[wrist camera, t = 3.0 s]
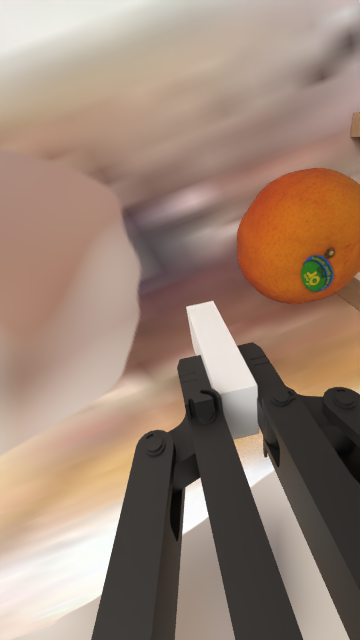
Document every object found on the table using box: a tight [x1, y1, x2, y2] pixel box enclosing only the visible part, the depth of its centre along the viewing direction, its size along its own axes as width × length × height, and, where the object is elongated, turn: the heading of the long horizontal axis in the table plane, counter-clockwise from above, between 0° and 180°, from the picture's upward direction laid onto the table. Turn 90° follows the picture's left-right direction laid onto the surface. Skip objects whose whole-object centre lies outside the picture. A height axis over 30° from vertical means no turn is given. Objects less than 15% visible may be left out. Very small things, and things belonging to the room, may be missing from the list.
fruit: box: [237, 168, 360, 304], centre depth 24 cm, size 11×10×8 cm
